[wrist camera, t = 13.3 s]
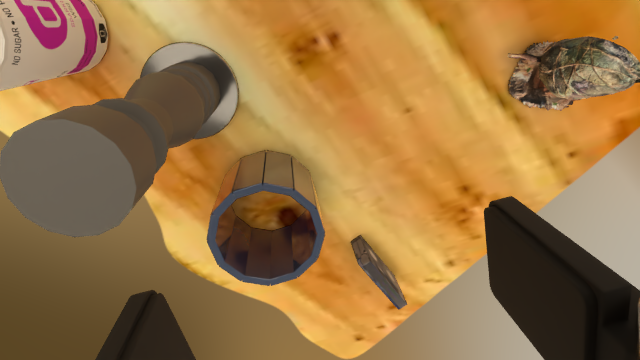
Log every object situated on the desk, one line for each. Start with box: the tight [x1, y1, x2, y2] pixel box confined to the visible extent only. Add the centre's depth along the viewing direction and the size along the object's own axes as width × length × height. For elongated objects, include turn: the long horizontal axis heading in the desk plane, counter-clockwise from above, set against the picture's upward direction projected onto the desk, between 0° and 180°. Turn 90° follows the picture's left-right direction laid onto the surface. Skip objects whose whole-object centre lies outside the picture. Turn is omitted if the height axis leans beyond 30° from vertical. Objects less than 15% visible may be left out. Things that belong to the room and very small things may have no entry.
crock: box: [207, 150, 325, 286], centre depth 42 cm, size 11×11×10 cm
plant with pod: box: [508, 36, 640, 111], centre depth 35 cm, size 8×11×20 cm
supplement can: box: [0, 0, 108, 91], centre depth 31 cm, size 8×8×15 cm
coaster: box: [140, 42, 239, 139], centre depth 41 cm, size 10×10×1 cm
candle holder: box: [0, 62, 220, 237], centre depth 29 cm, size 6×6×25 cm
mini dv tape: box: [351, 235, 407, 309], centre depth 48 cm, size 8×2×6 cm, turn 37°
